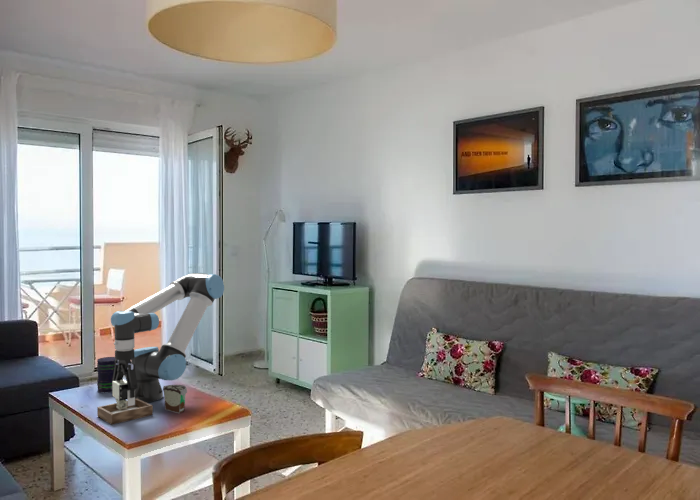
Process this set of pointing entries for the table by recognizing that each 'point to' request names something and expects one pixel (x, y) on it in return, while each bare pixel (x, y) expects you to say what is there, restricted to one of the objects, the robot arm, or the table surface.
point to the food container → (175, 398)
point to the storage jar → (105, 373)
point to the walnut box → (124, 412)
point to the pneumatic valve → (120, 393)
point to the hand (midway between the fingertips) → (125, 402)
